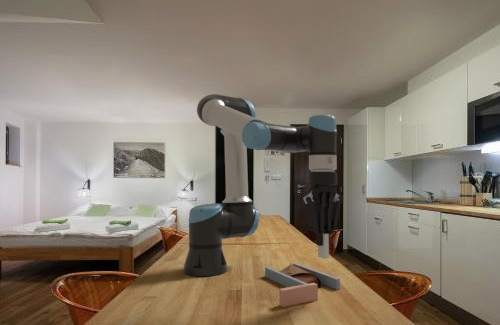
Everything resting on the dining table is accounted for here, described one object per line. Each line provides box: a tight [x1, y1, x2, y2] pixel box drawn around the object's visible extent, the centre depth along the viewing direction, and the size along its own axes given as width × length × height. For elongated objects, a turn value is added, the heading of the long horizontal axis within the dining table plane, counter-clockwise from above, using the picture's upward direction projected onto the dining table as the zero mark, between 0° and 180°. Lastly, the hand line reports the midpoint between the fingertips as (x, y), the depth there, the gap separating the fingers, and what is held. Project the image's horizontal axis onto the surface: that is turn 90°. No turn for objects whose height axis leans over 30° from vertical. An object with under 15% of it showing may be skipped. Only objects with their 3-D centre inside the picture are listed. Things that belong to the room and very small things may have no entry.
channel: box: [264, 262, 341, 290], centre depth 105 cm, size 12×22×3 cm, turn 28°
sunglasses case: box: [279, 263, 322, 289], centre depth 107 cm, size 18×7×7 cm
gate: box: [278, 283, 319, 308], centre depth 87 cm, size 11×2×4 cm, turn 118°
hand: (323, 257), depth 92 cm, fingers closed
